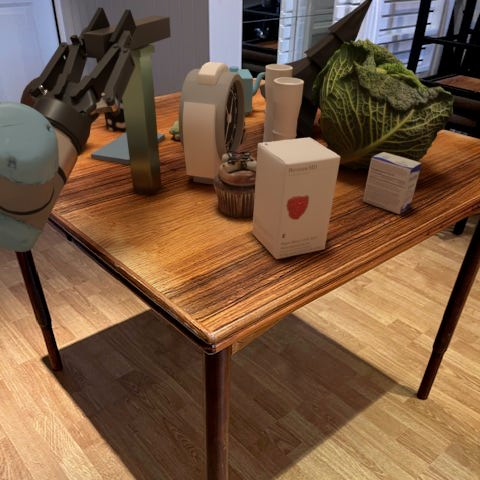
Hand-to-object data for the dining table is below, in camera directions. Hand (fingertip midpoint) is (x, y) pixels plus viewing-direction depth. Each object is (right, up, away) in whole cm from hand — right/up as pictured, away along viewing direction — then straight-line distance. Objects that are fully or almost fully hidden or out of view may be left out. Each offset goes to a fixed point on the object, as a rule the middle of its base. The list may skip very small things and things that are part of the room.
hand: (117, 17), depth 69 cm
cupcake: (+18, -24, +16) cm, 34 cm away
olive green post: (0, -20, +21) cm, 28 cm away
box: (+45, -23, +18) cm, 54 cm away
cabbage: (+45, -11, +33) cm, 57 cm away
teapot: (+17, +14, +63) cm, 66 cm away
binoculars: (+26, -12, +32) cm, 43 cm away
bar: (+1, -1, +6) cm, 6 cm away
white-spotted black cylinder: (-12, +4, +50) cm, 51 cm away
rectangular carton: (+26, -32, +7) cm, 42 cm away
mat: (-7, -5, +38) cm, 39 cm away
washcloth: (+10, +1, +47) cm, 48 cm away
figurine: (-21, -6, +37) cm, 43 cm away
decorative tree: (+35, +4, +51) cm, 62 cm away
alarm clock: (+13, -15, +28) cm, 34 cm away
